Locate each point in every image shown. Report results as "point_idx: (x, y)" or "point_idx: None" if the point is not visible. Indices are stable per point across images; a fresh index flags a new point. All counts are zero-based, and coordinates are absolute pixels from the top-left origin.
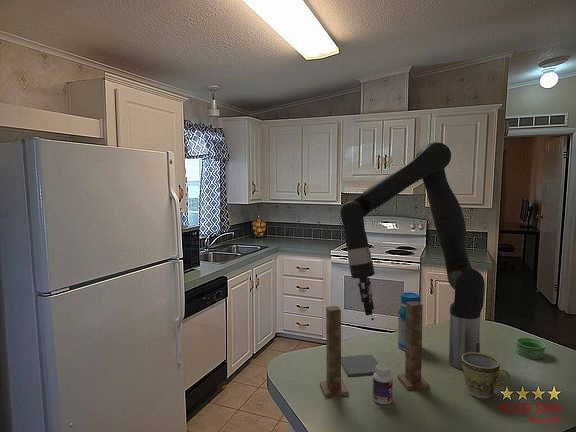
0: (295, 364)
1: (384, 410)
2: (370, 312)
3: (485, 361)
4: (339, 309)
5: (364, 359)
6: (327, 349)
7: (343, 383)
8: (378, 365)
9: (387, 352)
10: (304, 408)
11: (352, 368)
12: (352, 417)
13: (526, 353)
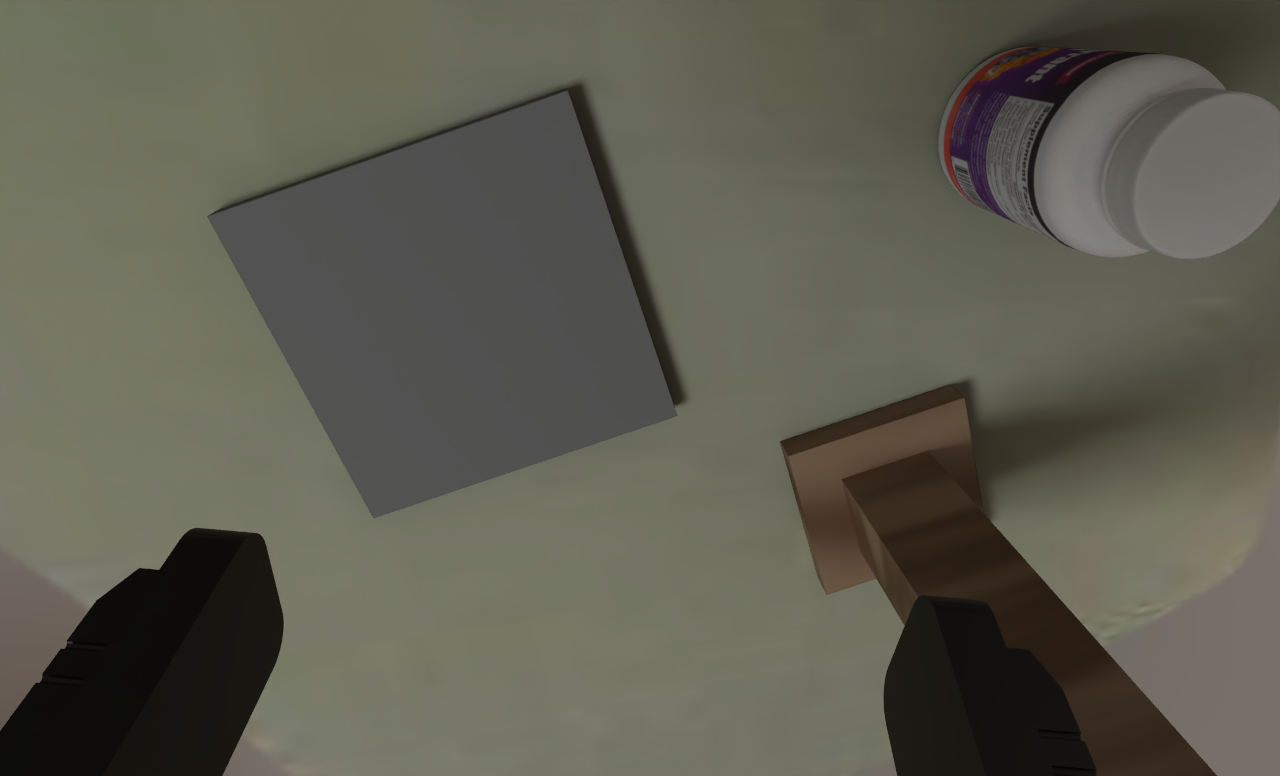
0: (548, 763)
1: None
2: (1047, 676)
3: None
4: None
5: (357, 289)
6: None
7: (848, 441)
8: (1172, 229)
9: (22, 14)
10: (1081, 612)
11: (571, 388)
12: (1201, 343)
13: None
